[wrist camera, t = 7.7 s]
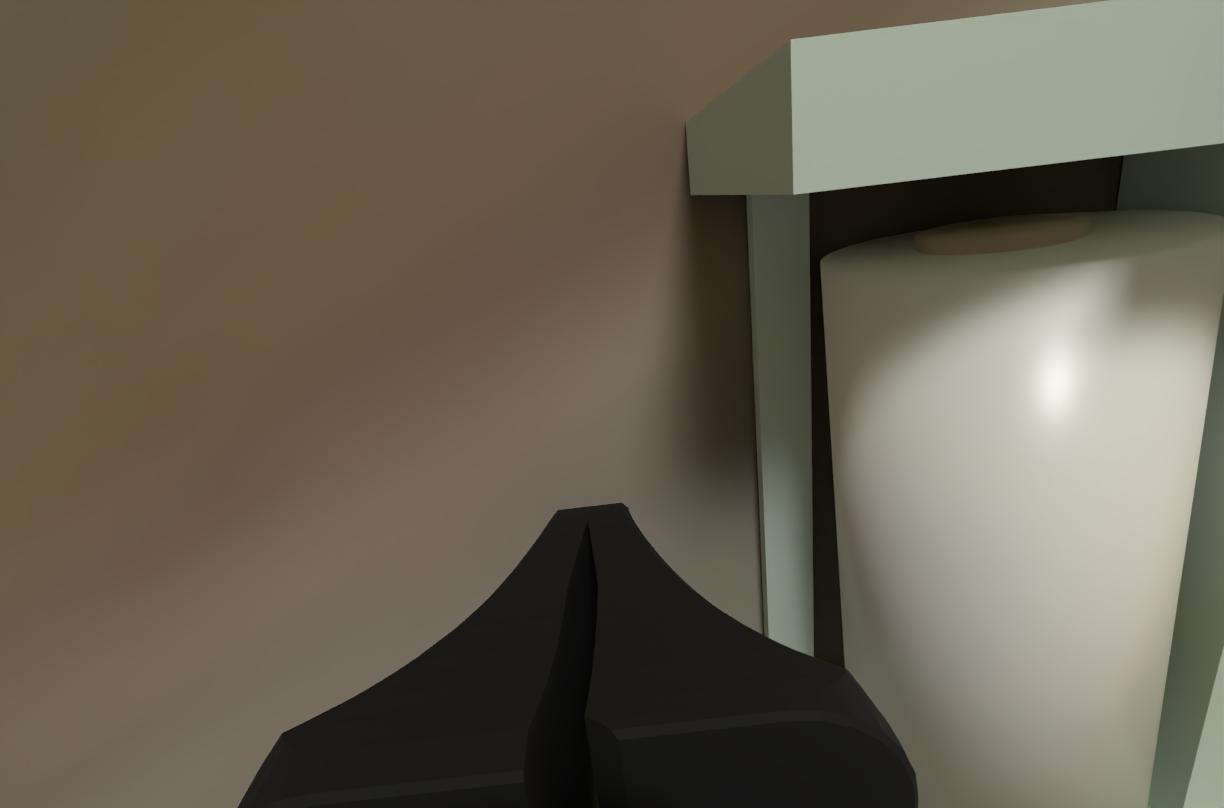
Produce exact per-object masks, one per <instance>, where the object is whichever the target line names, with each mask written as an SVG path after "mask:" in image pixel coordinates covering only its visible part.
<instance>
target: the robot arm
mask: <svg viewBox="0 0 1224 808" xmlns="http://www.w3.org/2000/svg"><path fill="white" fill-rule="evenodd" d="M918 800H919V798H918V789H917V780H916V773H915V771H914V769H913V767H912V765H911V763H910V762H909V760H908V757H907V755H906V753H905V751H904V749H903V747H902V745H901V743H900V741H899V740H898V738H897V736H896V735H895V733H894V732H893V730H892V728H891V727H890V725H889V724H888V722H887V721H886V719H885V718H884V717H883V715H882V714H881V712H880V711H879V710H878V708H877V707H876V706H875V704H874V703H873V702H872V700H871V699H870V698H869V696H868V695H867V694H866V692H865V691H864V690H863V688H862V687H861V686H860V685H859V683H858V682H857V681H856V679H855V678H854V677H853V676H852V674H851V673H850V672H849V671H848V670H847V669H845V668H842V667H839V666H837V665H834V664H831V663H829V662H826V661H823V660H821V659H818V658H815V657H812V656H810V655H807V654H804V653H802V652H799V651H796V650H794V649H791V648H789V647H787V646H785V645H783V644H781V643H778V642H776V641H774V640H772V639H770V638H768V637H766V636H764V635H762V634H760V633H758V632H756V631H754V630H752V629H751V628H749V627H747V626H745V625H743V624H742V623H740V622H738V621H737V620H735V619H734V618H732V617H730V616H729V615H727V614H726V613H724V612H722V611H721V610H719V609H718V608H716V607H715V606H714V605H712V604H711V603H709V602H708V601H707V600H706V599H704V598H703V597H702V596H701V595H700V594H698V593H697V592H696V591H695V590H693V589H692V588H691V587H690V586H689V585H688V584H687V583H686V582H685V581H684V580H682V579H681V578H680V577H679V576H678V575H677V574H676V573H675V572H674V571H673V570H672V569H671V568H670V566H669V565H668V564H667V563H666V562H665V561H664V560H663V559H662V558H661V557H660V556H659V554H658V553H657V552H656V551H655V549H654V548H653V547H652V546H651V544H650V543H649V542H648V541H647V539H646V538H645V537H644V535H643V534H642V533H641V531H640V530H639V528H638V527H637V525H636V523H635V522H634V520H633V518H632V516H631V514H630V512H629V509H628V507H626V506H625V505H624V504H623V503H616V504H607V505H599V506H590V507H581V508H572V509H564V510H558V511H557V512H556V513H555V515H554V516H553V517H552V519H551V520H550V521H549V523H548V524H547V526H546V527H545V529H544V530H543V532H542V533H541V535H540V536H539V537H538V539H537V540H536V542H535V543H534V545H533V546H532V547H531V549H530V550H529V551H528V552H527V554H526V555H525V556H524V558H523V559H522V560H521V562H520V563H519V564H518V565H517V567H516V568H515V569H514V570H513V572H512V573H511V574H510V575H509V576H508V577H507V579H506V580H505V581H504V582H503V583H502V584H501V585H500V586H499V588H498V589H497V590H496V591H495V592H494V593H493V594H492V595H491V596H490V597H489V598H488V599H487V600H486V601H485V602H484V603H483V604H482V605H481V606H480V607H479V608H478V609H477V610H476V611H475V612H474V613H472V614H471V615H470V616H469V617H468V618H467V619H466V620H465V621H464V622H462V623H461V624H460V625H459V626H458V627H457V628H455V629H454V630H453V631H452V632H450V633H449V634H448V635H446V636H445V637H444V638H442V639H441V640H440V641H438V642H437V643H436V644H434V645H433V646H432V647H430V648H429V649H428V650H427V651H425V652H424V653H423V654H421V655H420V656H419V657H417V658H416V659H414V660H413V661H411V662H410V663H408V664H407V665H405V666H404V667H402V668H401V669H399V670H398V671H396V672H395V673H393V674H392V675H390V676H388V677H387V678H385V679H384V680H382V681H380V682H379V683H377V684H375V685H374V686H372V687H370V688H369V689H367V690H365V691H364V692H362V693H360V694H358V695H356V696H355V697H353V698H351V699H349V700H347V701H345V702H344V703H342V704H340V705H338V706H336V707H334V708H332V709H330V710H328V711H326V712H324V713H322V714H320V715H318V716H316V717H314V718H312V719H310V720H308V721H306V722H304V723H302V724H300V725H298V726H296V727H294V728H292V729H290V730H288V731H286V732H284V733H282V735H281V736H280V738H279V739H278V741H277V742H276V744H275V745H274V747H273V748H272V750H271V752H270V753H269V755H268V756H267V758H266V759H265V761H264V763H263V764H262V766H261V767H260V769H259V771H258V772H257V774H256V776H255V778H254V780H253V781H252V783H251V785H250V787H249V788H248V790H247V792H246V794H245V796H244V797H243V799H242V801H241V803H240V804H239V806H238V808H598V805H599V808H918Z"/></svg>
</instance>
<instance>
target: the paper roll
mask: <svg viewBox="0 0 1224 808" xmlns="http://www.w3.org/2000/svg"><path fill="white" fill-rule="evenodd" d="M820 268H821V285H822V301H823V318H824V334H825V350H826V367H827V383H828V399H829V416H830V432H831V448H832V465H833V481H834V498H835V514H836V530H837V547H838V563H839V579H840V596H841V612H842V629H843V645H844V661H845V669H847V670H848V671H849V672H850V673H851V674H852V676H853V677H854V678H855V679H856V681H857V682H858V683H859V685H860V686H861V687H862V688H863V690H864V691H865V692H866V694H867V695H868V696H869V698H870V699H871V700H872V702H873V703H874V704H875V706H876V707H877V708H878V710H879V711H880V712H881V714H882V715H883V717H884V718H885V719H886V721H887V722H888V724H889V725H890V727H891V728H892V730H893V732H894V733H895V735H896V736H897V738H898V740H899V741H900V743H901V745H902V747H903V749H904V751H905V753H906V755H907V757H908V760H909V762H910V763H911V765H912V767H913V769H914V771H915V773H916V780H917V789H918V798H919V800H918V808H1147V805H1148V798H1149V792H1150V785H1151V778H1152V771H1153V765H1154V758H1155V751H1156V745H1157V738H1158V731H1159V724H1160V718H1161V711H1162V704H1163V697H1164V691H1165V684H1166V677H1167V671H1168V664H1169V657H1170V650H1171V644H1172V637H1173V630H1174V624H1175V617H1176V610H1177V603H1178V597H1179V590H1180V583H1181V577H1182V570H1183V563H1184V556H1185V550H1186V543H1187V536H1188V530H1189V523H1190V516H1191V509H1192V503H1193V496H1194V489H1195V483H1196V476H1197V469H1198V462H1199V456H1200V449H1201V442H1202V436H1203V429H1204V422H1205V415H1206V409H1207V402H1208V395H1209V389H1210V382H1211V375H1212V368H1213V362H1214V355H1215V348H1216V342H1217V335H1218V328H1219V321H1220V315H1221V308H1222V301H1223V295H1224V217H1223V216H1219V215H1214V214H1208V213H1200V212H1189V211H1168V210H1123V211H1095V212H1076V213H1047V214H1029V215H1017V216H1006V217H997V218H988V219H981V220H974V221H967V222H961V223H955V224H950V225H945V226H940V227H936V228H932V229H928V230H923V231H917V232H911V233H906V234H900V235H894V236H889V237H883V238H877V239H873V240H869V241H865V242H861V243H858V244H854V245H851V246H847V247H845V248H842V249H839V250H836V251H834V252H832V253H830V254H828V255H826V256H825V257H823V258H822V259H821V262H820Z"/></svg>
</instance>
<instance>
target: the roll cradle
mask: <svg viewBox="0 0 1224 808" xmlns="http://www.w3.org/2000/svg"><path fill="white" fill-rule="evenodd" d="M685 123H686V138H687V152H688V167H689V181H690V195H746V201H747V225H748V249H749V273H750V297H751V321H752V345H753V369H754V393H755V418H756V442H757V466H758V490H759V514H760V538H761V562H762V586H763V611H764V635H765V636H766V637H768V638H770V639H772V640H774V641H776V642H778V643H781V644H783V645H785V646H787V647H789V648H791V649H794V650H796V651H799V652H802V653H804V654H807V655H810V656H812V657H814V612H813V516H812V420H811V324H810V227H809V193H812V192H821V191H829V190H837V189H846V188H854V187H862V186H871V185H879V184H887V183H896V182H904V181H912V180H921V179H929V178H937V177H946V176H954V175H962V174H971V173H979V172H987V171H996V170H1004V169H1012V168H1021V167H1029V166H1037V165H1046V164H1054V163H1062V162H1071V161H1079V160H1087V159H1096V158H1104V157H1113V156H1121V155H1124V159H1123V166H1122V173H1121V180H1120V187H1119V194H1118V201H1117V208H1116V211H1123V210H1168V211H1189V212H1200V213H1208V214H1214V215H1219V216H1223V217H1224V0H1111V1H1103V2H1095V3H1086V4H1078V5H1070V6H1062V7H1054V8H1045V9H1037V10H1029V11H1021V12H1013V13H1004V14H996V15H988V16H980V17H972V18H963V19H955V20H947V21H939V22H931V23H922V24H914V25H906V26H898V27H890V28H881V29H873V30H865V31H857V32H849V33H840V34H832V35H824V36H816V37H808V38H799V39H791V40H789V41H788V42H787V43H786V44H784V45H783V46H782V47H781V48H779V49H778V50H777V51H775V52H774V53H773V54H772V55H770V56H769V57H768V58H767V59H765V60H764V61H763V62H761V63H760V64H759V65H758V66H756V67H755V68H754V69H753V70H751V71H750V72H749V73H747V74H746V75H745V76H744V77H742V78H741V79H740V80H739V81H737V82H736V83H735V84H733V85H732V86H731V87H730V88H728V89H727V90H726V91H725V92H723V93H722V94H721V95H720V96H718V97H717V98H716V99H714V100H713V101H712V102H711V103H709V104H708V105H707V106H706V107H704V108H703V109H702V110H700V111H699V112H698V113H697V114H695V115H694V116H693V117H692V118H690V119H689V120H688V121H686V122H685ZM1147 808H1224V295H1223V301H1222V308H1221V315H1220V321H1219V328H1218V335H1217V342H1216V348H1215V355H1214V362H1213V368H1212V375H1211V382H1210V389H1209V395H1208V402H1207V409H1206V415H1205V422H1204V429H1203V436H1202V442H1201V449H1200V456H1199V462H1198V469H1197V476H1196V483H1195V489H1194V496H1193V503H1192V509H1191V516H1190V523H1189V530H1188V536H1187V543H1186V550H1185V556H1184V563H1183V570H1182V577H1181V583H1180V590H1179V597H1178V603H1177V610H1176V617H1175V624H1174V630H1173V637H1172V644H1171V650H1170V657H1169V664H1168V671H1167V677H1166V684H1165V691H1164V697H1163V704H1162V711H1161V718H1160V724H1159V731H1158V738H1157V745H1156V751H1155V758H1154V765H1153V771H1152V778H1151V785H1150V792H1149V798H1148V805H1147Z"/></svg>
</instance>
